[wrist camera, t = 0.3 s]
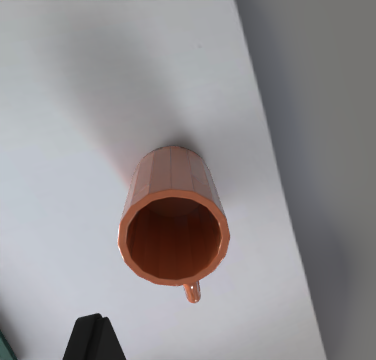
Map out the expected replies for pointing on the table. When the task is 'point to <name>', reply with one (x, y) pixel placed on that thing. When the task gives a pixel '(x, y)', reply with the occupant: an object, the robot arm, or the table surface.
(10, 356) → the mat
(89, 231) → the table surface
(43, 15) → the table surface
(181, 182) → the tea mug
